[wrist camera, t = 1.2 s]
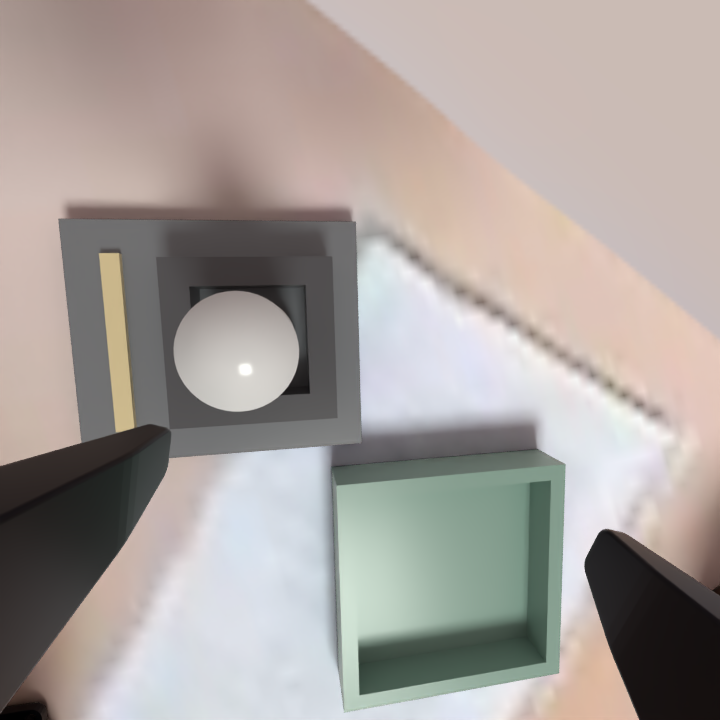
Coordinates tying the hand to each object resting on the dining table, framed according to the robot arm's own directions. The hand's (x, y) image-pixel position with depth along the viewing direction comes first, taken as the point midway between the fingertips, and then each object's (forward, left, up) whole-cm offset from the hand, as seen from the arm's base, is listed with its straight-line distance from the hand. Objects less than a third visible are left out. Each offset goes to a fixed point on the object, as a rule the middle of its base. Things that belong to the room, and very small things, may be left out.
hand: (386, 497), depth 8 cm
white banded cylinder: (-3, +3, -13) cm, 13 cm away
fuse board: (-5, +3, -14) cm, 15 cm away
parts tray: (+6, -10, -14) cm, 18 cm away
